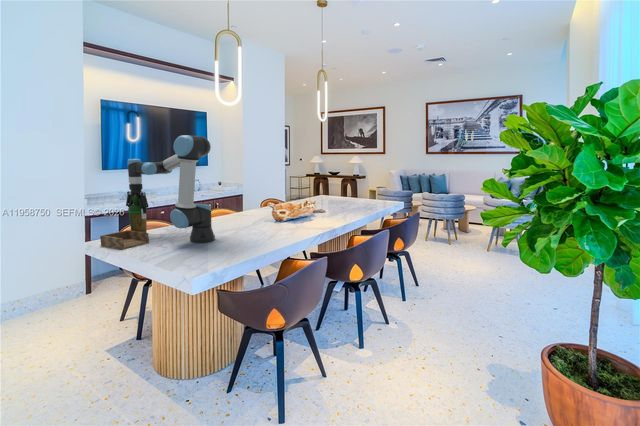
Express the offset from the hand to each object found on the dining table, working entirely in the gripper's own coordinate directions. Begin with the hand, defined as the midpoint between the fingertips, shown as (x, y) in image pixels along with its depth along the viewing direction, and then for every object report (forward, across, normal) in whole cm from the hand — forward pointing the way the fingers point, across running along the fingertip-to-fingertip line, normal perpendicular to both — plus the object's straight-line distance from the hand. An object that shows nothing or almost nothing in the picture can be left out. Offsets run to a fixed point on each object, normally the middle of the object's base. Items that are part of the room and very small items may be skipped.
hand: (137, 217), depth 235 cm
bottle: (+13, 0, 0) cm, 13 cm away
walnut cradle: (+13, -9, +17) cm, 23 cm away
